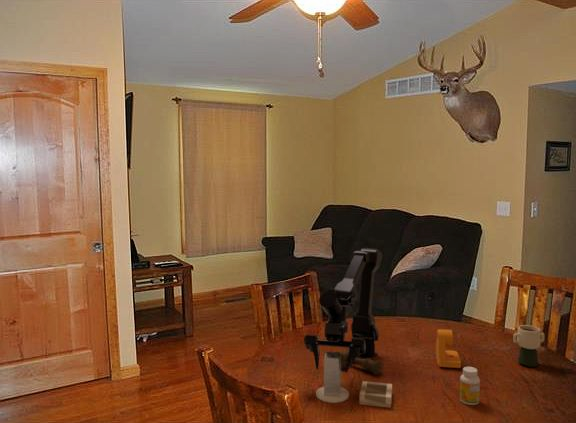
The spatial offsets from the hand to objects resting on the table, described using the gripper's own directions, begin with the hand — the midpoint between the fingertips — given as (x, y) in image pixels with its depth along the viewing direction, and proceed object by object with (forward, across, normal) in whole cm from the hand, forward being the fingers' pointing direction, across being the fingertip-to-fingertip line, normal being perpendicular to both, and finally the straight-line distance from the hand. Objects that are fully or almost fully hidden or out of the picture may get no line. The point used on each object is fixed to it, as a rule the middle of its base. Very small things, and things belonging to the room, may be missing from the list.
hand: (331, 370), depth 143 cm
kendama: (-10, +4, +23) cm, 26 cm away
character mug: (-21, +63, +34) cm, 74 cm away
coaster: (+5, 0, +7) cm, 8 cm away
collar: (+4, +13, +7) cm, 16 cm away
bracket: (-18, +36, +30) cm, 50 cm away
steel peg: (+4, 0, +6) cm, 8 cm away
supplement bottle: (+1, +40, +11) cm, 41 cm away
